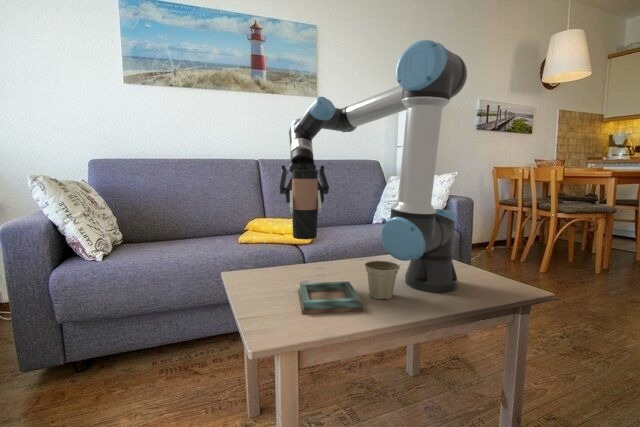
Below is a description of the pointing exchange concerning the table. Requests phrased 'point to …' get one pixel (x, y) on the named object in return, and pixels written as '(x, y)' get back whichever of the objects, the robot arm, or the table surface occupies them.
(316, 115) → the robot arm
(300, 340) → the table surface
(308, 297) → the coaster dock
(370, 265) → the flower pot
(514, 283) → the table surface
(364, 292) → the table surface
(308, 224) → the travel mug
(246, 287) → the table surface
